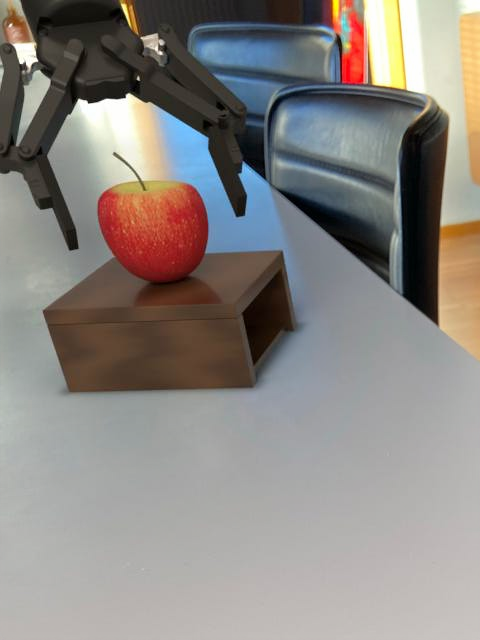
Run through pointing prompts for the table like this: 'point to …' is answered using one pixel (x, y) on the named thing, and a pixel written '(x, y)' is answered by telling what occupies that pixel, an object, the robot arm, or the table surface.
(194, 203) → the apple
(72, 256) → the table surface
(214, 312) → the shelf
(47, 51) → the robot arm
